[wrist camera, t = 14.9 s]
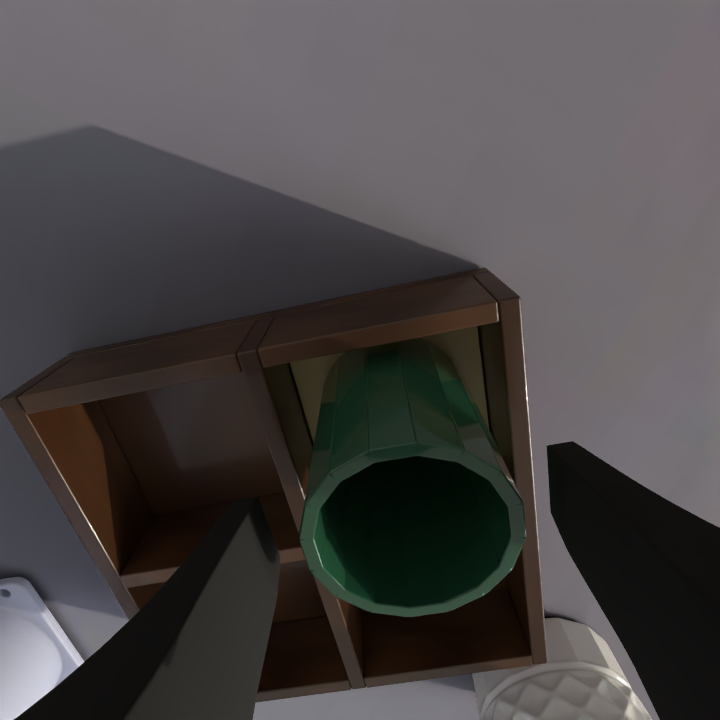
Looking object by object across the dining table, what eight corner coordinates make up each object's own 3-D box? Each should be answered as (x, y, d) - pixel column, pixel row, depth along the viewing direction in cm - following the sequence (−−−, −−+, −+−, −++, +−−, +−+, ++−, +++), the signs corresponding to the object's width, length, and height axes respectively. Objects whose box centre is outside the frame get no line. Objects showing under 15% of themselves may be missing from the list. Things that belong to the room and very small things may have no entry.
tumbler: (339, 468, 17) (329, 629, 11) (306, 348, 15) (272, 467, 9) (471, 445, 17) (532, 600, 11) (454, 319, 15) (516, 424, 9)
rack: (209, 630, 22) (182, 713, 19) (70, 352, 16) (-4, 401, 13) (518, 584, 21) (548, 664, 18) (485, 266, 15) (521, 295, 12)
